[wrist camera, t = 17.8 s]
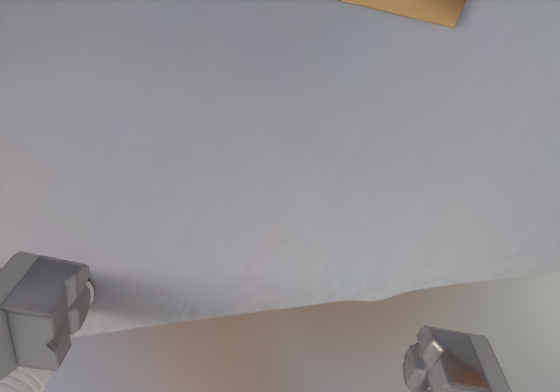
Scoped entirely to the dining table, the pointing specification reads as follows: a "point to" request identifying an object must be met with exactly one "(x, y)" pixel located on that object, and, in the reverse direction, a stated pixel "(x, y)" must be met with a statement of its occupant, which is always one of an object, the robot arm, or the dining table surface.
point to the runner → (419, 9)
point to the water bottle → (31, 373)
